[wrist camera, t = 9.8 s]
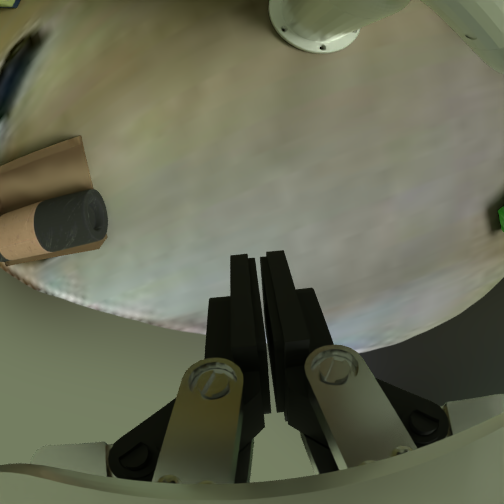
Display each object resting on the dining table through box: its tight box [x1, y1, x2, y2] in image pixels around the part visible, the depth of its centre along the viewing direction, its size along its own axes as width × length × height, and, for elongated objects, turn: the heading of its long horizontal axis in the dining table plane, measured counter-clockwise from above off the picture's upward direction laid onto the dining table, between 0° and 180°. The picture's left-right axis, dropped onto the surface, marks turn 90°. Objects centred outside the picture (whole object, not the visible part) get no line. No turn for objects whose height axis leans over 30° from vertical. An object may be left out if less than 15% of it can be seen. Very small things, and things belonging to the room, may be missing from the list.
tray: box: [0, 136, 107, 266], centre depth 39 cm, size 16×20×4 cm
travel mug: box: [0, 189, 108, 262], centre depth 38 cm, size 8×8×20 cm
